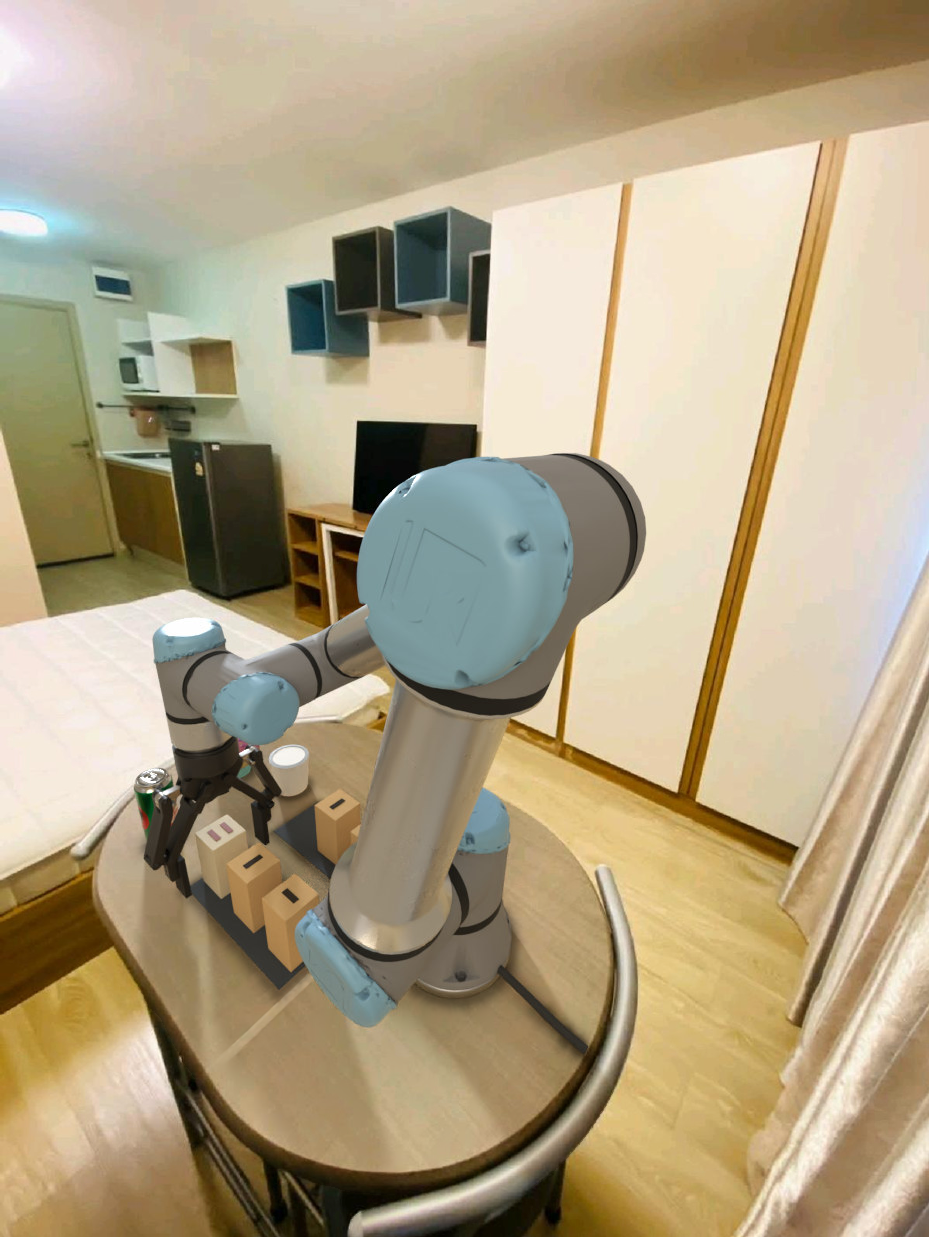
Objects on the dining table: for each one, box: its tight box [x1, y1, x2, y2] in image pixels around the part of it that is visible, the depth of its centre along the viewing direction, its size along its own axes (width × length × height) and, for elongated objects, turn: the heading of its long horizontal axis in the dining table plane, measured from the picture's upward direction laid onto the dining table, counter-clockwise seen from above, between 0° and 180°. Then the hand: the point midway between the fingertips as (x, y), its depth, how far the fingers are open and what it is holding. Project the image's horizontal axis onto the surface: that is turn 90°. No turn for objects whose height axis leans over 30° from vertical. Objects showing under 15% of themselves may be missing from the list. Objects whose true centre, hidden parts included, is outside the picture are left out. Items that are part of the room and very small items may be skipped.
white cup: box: [268, 744, 310, 797], centre depth 93 cm, size 7×7×7 cm
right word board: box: [273, 788, 362, 880], centre depth 80 cm, size 22×9×10 cm, turn 53°
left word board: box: [190, 841, 320, 991], centre depth 70 cm, size 22×9×10 cm, turn 53°
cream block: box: [194, 813, 249, 899], centre depth 74 cm, size 5×5×9 cm
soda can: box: [133, 767, 179, 843], centre depth 80 cm, size 5×5×12 cm
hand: (225, 864), depth 75 cm, fingers open, 11 cm apart
